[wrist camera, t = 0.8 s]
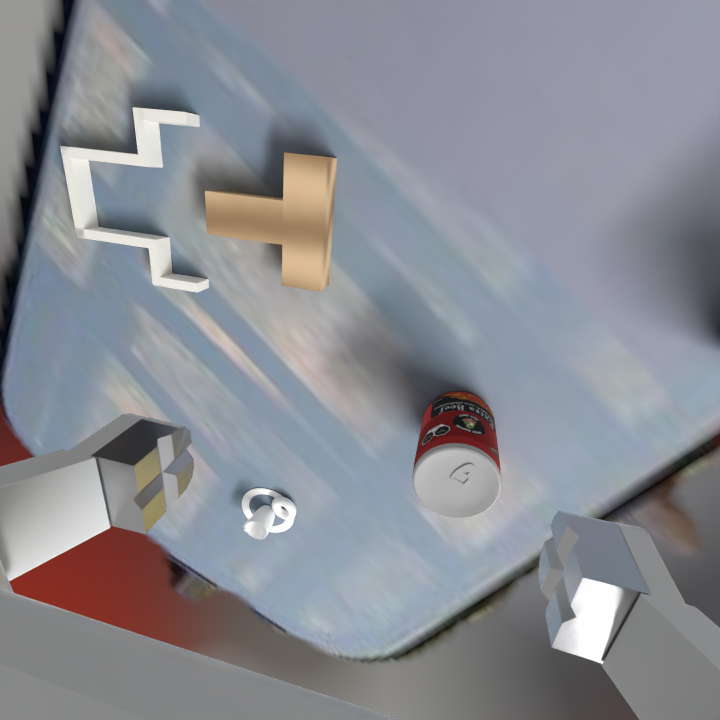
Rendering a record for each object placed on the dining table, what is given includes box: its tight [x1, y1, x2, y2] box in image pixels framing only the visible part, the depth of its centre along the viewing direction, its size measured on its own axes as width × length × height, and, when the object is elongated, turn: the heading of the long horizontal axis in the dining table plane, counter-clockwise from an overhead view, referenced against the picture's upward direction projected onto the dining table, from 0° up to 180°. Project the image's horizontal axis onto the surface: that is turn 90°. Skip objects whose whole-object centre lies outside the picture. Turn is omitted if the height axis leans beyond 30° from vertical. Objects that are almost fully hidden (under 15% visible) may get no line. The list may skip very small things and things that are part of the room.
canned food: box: [412, 391, 501, 519], centre depth 41 cm, size 8×8×11 cm
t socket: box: [60, 107, 209, 292], centre depth 44 cm, size 17×14×2 cm
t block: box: [205, 153, 337, 291], centre depth 41 cm, size 12×12×3 cm
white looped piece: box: [242, 488, 296, 539], centre depth 57 cm, size 9×8×4 cm
